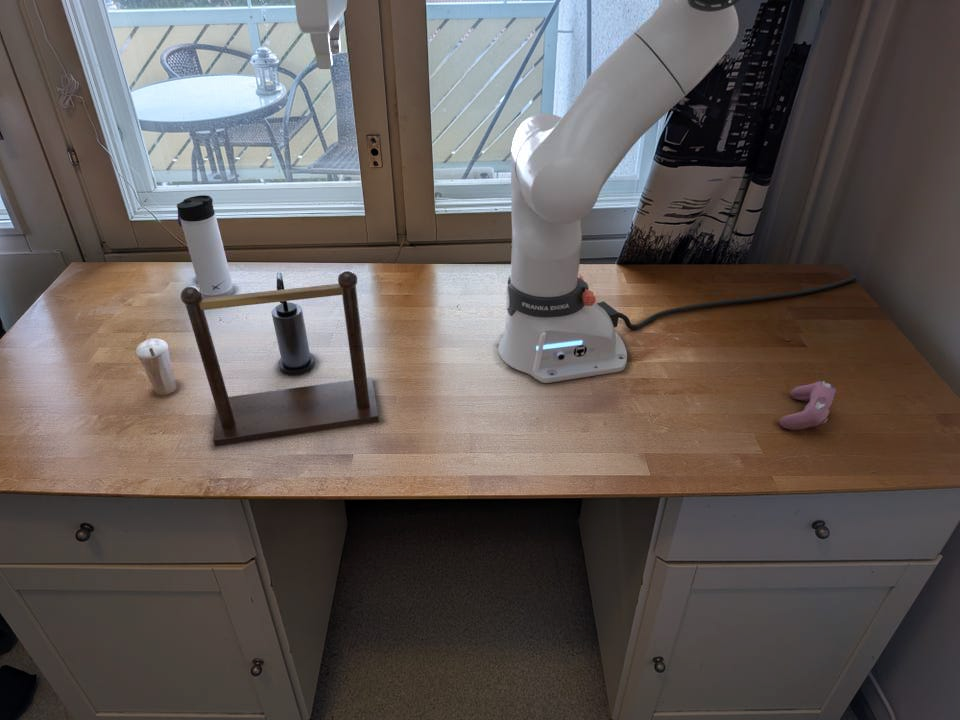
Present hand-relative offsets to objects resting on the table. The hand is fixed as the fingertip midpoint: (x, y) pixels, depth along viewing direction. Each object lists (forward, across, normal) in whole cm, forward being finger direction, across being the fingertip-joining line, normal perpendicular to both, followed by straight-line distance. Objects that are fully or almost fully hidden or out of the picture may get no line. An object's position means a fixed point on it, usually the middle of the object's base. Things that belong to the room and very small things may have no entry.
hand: (330, 60), depth 86 cm
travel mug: (+48, +24, +31) cm, 62 cm away
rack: (+48, -15, +9) cm, 51 cm away
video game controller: (+48, -20, -70) cm, 87 cm away
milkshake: (+48, -8, +31) cm, 58 cm away
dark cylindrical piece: (+48, -3, +11) cm, 49 cm away
